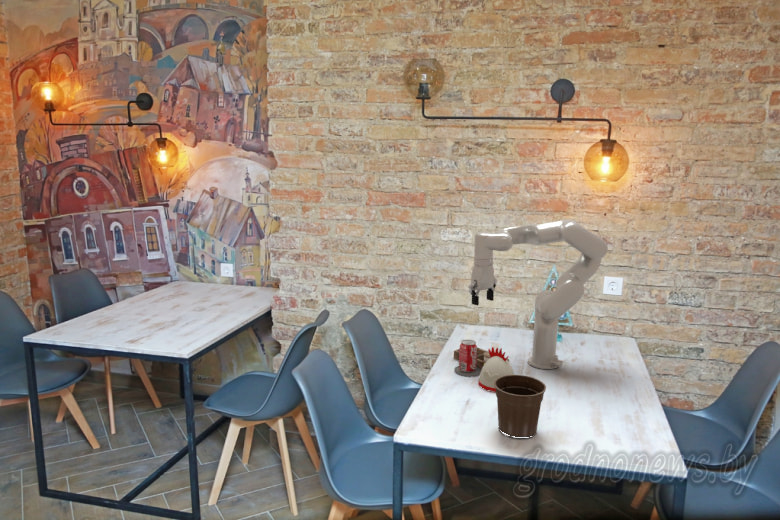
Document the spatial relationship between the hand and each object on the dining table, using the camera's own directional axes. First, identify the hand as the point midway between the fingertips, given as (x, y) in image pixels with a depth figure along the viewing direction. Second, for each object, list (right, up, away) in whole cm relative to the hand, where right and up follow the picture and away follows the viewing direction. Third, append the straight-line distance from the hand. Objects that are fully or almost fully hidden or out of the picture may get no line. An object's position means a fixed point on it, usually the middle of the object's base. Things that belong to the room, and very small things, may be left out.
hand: (482, 302), depth 250 cm
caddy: (0, -26, +3) cm, 26 cm away
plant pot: (+3, -38, -54) cm, 66 cm away
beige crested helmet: (+3, -31, -18) cm, 36 cm away
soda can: (-7, -27, -6) cm, 29 cm away
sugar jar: (+3, -27, 0) cm, 27 cm away
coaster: (-7, -27, -6) cm, 29 cm away
